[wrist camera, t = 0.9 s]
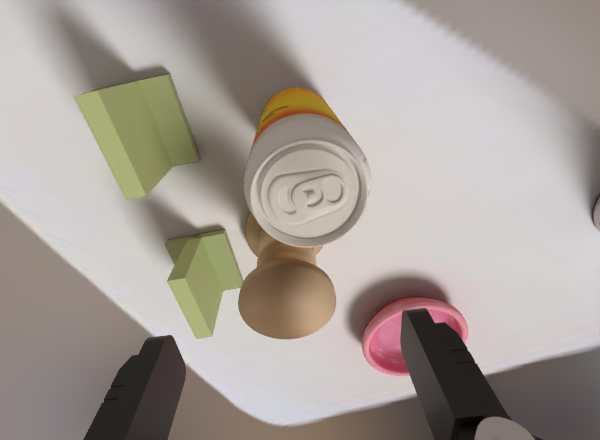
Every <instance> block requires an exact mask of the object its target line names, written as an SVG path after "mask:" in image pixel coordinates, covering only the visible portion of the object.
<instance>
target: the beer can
mask: <svg viewBox="0 0 600 440" xmlns="http://www.w3.org/2000/svg"><path fill="white" fill-rule="evenodd" d="M243 187H244V195H245V199H246V203H247V205H248V207H249V210H250V211H251V213H252V215H253V216H254V218H255V219H256V220H257V222H258V223H259V225H260V226H261V227H262V228H263V229H264V230H265V231H266V232H267V233H268V234H269V235H270V236H272V237H273V238H275V239H276V240H278V241H280V242H282V243H285V244H288V245H291V246H296V247H318V246H322V245H326V244H329V243H332V242H334V241H336V240H338V239H340V238H341V237H343V236H344V235H346V234H347V233H348V232H349V231H350V230H351V229H353V227H354V226H355V225H356V224H357V223H358V221H359V220H360V218H361V216H362V214H363V212H364V210H365V207H366V204H367V200H368V197H369V193H370V187H371V174H370V168H369V165H368V162H367V159H366V157H365V155H364V153H363V151H362V150H361V149H360V147H359V146H358V144H357V143H356V142H355V140H354V139H353V138H352V136H351V135H350V134H349V132H348V131H347V130H346V128H345V127H344V126H343V124H342V123H341V122H340V120H339V119H338V118H337V116H336V115H335V114H334V112H333V111H332V110H331V108H330V107H329V106H328V104H327V103H326V102H325V100H324V99H323V98H322V97H321V96H319V95H318V94H317V93H315V92H313V91H311V90H309V89H305V88H298V87H297V88H289V89H285V90H283V91H280V92H279V93H277V94H276V95H274V96H273V97H272V98H271V99H270V100H269V101H268V103H267V104H266V106H265V108H264V110H263V112H262V115H261V119H260V122H259V126H258V129H257V132H256V136H255V139H254V142H253V146H252V149H251V152H250V156H249V159H248V162H247V166H246V169H245V174H244V181H243Z"/></svg>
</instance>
